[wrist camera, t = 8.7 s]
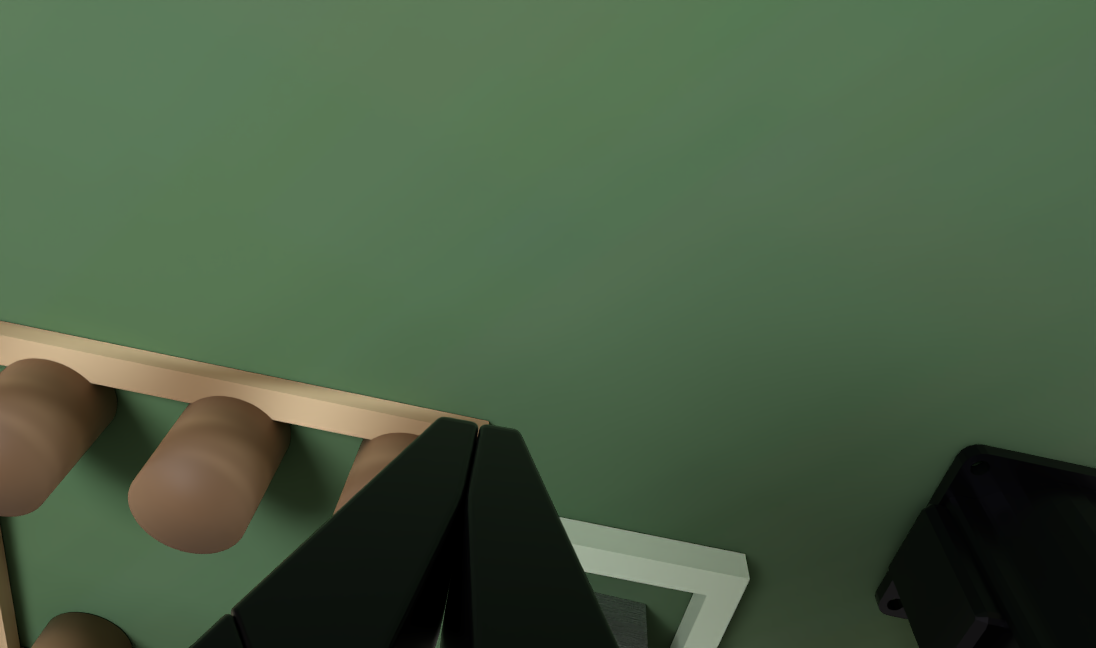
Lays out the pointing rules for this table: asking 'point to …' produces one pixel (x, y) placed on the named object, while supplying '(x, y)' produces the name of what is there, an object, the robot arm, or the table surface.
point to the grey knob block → (625, 620)
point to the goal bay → (668, 574)
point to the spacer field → (168, 445)
